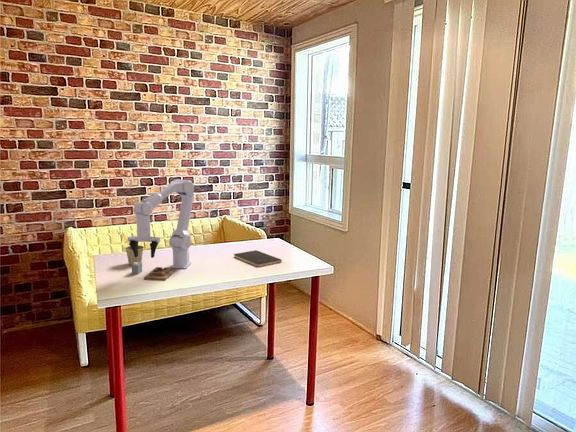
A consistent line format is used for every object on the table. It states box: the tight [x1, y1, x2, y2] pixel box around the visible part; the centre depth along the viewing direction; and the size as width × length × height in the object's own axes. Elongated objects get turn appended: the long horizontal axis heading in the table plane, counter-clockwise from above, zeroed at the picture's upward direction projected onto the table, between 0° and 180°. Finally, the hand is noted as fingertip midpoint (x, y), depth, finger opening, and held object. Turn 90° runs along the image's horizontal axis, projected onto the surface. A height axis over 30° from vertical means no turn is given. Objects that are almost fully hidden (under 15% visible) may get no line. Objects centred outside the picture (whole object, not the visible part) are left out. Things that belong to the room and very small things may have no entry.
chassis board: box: [143, 266, 176, 281], centre depth 195 cm, size 14×10×2 cm
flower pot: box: [124, 244, 145, 266], centre depth 211 cm, size 9×9×9 cm
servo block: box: [131, 262, 143, 276], centre depth 198 cm, size 5×3×6 cm, turn 177°
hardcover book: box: [233, 250, 283, 268], centre depth 226 cm, size 16×23×2 cm
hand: (144, 256), depth 191 cm, fingers open, 7 cm apart
